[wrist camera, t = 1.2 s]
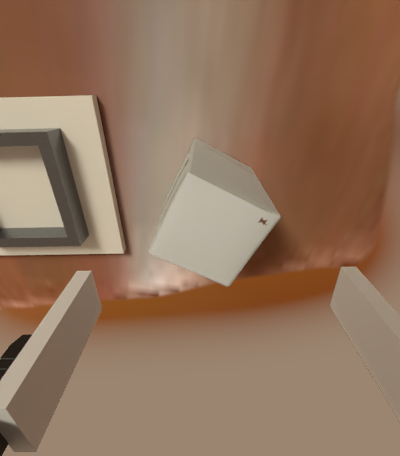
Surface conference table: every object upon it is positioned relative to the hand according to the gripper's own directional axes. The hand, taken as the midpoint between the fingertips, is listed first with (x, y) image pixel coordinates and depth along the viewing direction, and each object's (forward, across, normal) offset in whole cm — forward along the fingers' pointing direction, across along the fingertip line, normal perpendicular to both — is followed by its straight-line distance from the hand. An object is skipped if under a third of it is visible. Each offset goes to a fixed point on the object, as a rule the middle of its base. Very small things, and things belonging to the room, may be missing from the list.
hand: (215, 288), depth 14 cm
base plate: (+18, -21, 0) cm, 27 cm away
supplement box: (+18, 0, 0) cm, 18 cm away
